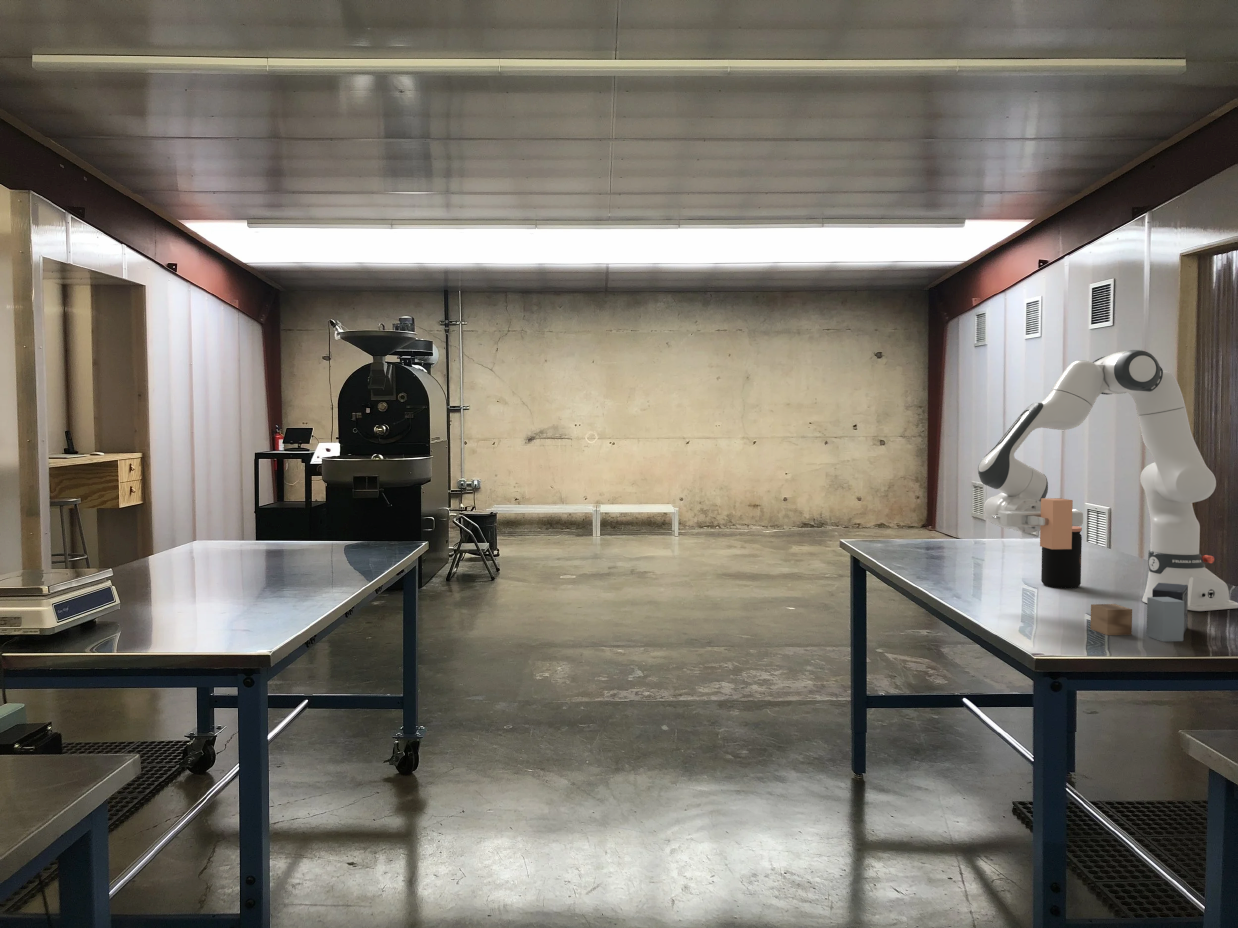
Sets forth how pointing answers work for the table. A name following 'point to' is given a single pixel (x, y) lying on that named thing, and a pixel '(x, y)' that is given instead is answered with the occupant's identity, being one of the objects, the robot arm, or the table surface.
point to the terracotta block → (1056, 523)
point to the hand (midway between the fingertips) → (1058, 521)
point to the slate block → (1165, 618)
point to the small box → (1173, 595)
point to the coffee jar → (1063, 564)
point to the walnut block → (1111, 619)
